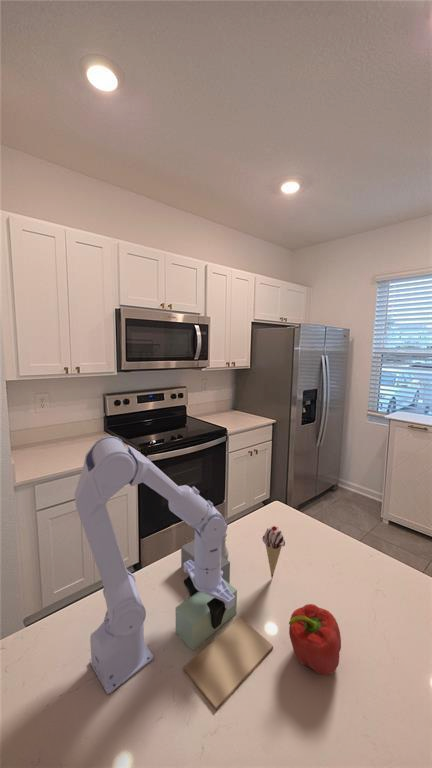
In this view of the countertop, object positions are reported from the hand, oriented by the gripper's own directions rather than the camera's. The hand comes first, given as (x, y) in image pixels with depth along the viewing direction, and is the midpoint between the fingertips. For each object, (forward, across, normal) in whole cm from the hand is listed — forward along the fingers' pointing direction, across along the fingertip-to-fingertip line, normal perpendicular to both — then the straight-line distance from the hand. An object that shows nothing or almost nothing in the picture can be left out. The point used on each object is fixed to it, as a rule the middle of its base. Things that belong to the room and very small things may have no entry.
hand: (207, 616), depth 70 cm
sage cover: (+2, 0, 0) cm, 2 cm away
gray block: (+2, +11, -9) cm, 14 cm away
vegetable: (+2, -20, -10) cm, 22 cm away
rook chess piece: (+2, +13, -17) cm, 21 cm away
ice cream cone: (+2, -2, -21) cm, 21 cm away
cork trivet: (+2, -9, +2) cm, 9 cm away
